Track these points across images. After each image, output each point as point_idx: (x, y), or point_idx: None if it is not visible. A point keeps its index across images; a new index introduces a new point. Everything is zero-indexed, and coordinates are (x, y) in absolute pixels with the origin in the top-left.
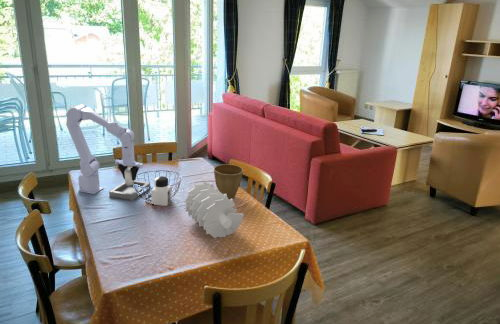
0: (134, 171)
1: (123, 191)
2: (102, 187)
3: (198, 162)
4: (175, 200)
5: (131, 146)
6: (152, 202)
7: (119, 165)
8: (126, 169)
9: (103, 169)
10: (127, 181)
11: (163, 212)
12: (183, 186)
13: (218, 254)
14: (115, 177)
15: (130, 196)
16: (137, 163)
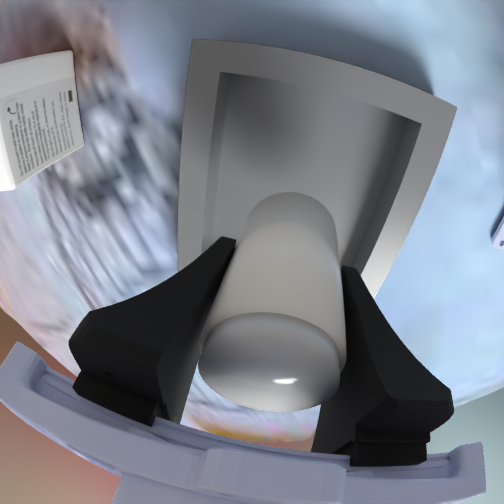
0: (110, 307)
1: (351, 188)
2: (498, 243)
3: None
4: None
5: None
6: (58, 52)
7: (427, 439)
8: (305, 380)
9: (465, 398)
10: (294, 215)
11: (12, 14)
12: (71, 293)
13: None
14: (426, 362)
15: (216, 40)
16: (62, 443)
